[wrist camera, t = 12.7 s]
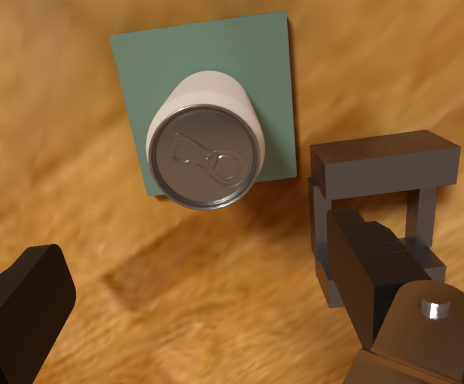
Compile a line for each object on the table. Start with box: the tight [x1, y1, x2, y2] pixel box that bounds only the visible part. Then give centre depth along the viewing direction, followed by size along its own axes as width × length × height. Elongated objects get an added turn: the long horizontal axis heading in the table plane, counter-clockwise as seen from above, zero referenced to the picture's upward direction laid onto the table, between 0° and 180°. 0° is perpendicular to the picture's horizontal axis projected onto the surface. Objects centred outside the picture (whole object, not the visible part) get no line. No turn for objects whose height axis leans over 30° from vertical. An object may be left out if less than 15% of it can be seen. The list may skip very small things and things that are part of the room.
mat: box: [109, 11, 297, 197], centre depth 30 cm, size 13×13×1 cm
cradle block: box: [308, 130, 461, 308], centre depth 33 cm, size 11×14×5 cm
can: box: [146, 71, 265, 211], centre depth 24 cm, size 6×6×12 cm
